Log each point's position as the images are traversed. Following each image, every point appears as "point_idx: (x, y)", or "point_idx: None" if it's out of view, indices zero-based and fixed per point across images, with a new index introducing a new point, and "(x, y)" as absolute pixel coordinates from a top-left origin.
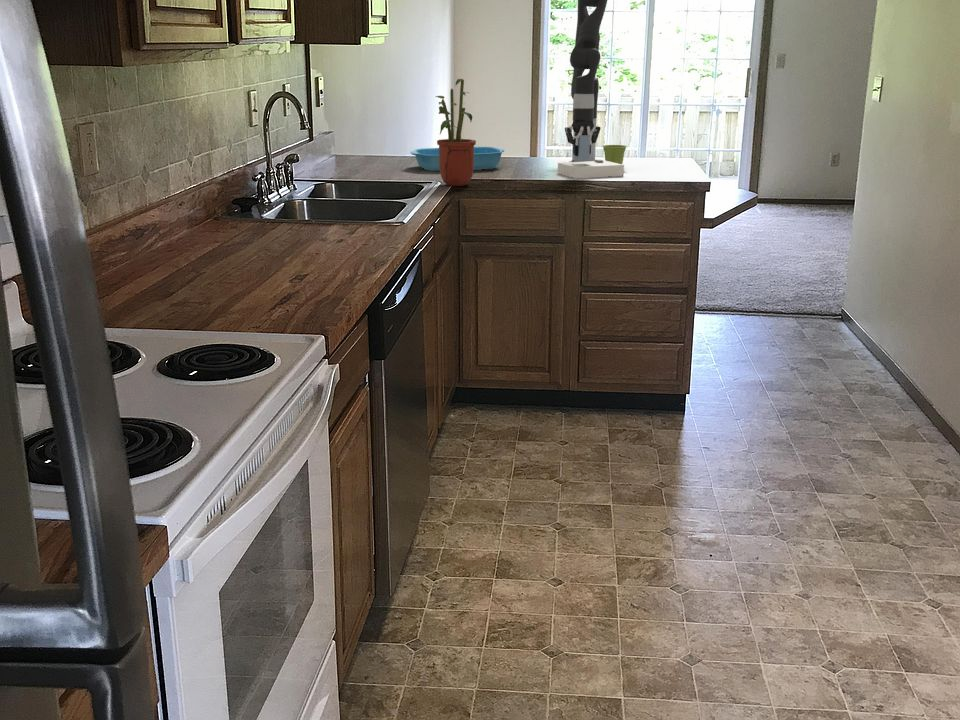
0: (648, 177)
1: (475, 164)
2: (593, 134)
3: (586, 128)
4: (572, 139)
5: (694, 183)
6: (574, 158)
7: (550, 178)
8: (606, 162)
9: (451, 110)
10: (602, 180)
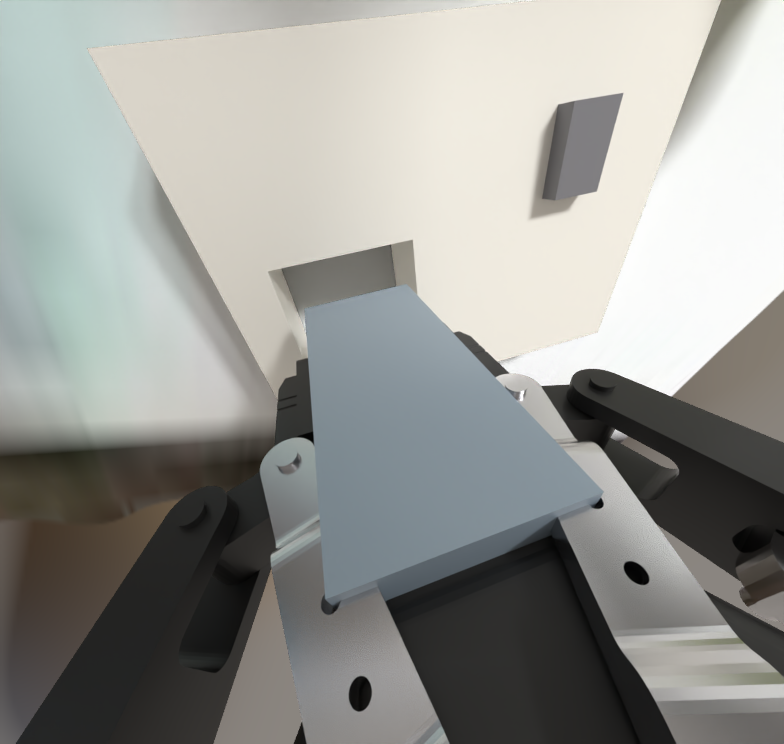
0: (600, 354)
1: None
2: (695, 489)
3: None
4: (242, 609)
5: None
6: (306, 318)
7: (124, 376)
8: (609, 181)
9: None
10: None
